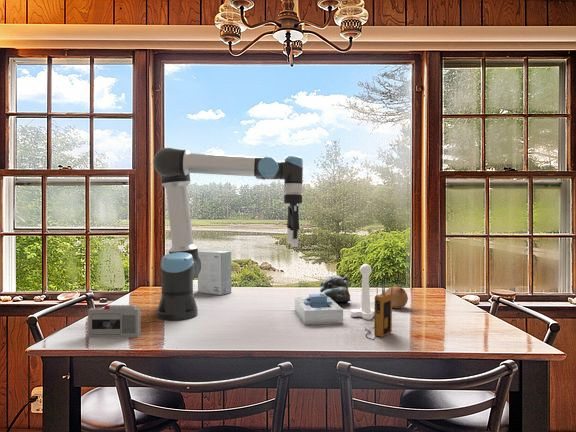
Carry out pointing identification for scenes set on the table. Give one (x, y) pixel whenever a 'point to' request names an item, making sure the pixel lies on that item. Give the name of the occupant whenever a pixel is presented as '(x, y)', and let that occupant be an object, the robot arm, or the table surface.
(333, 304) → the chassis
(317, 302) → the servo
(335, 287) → the dark grey rock
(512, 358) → the table surface
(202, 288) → the hard drive box
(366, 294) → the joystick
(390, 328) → the multimeter
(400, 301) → the onion
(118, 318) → the cassette player
